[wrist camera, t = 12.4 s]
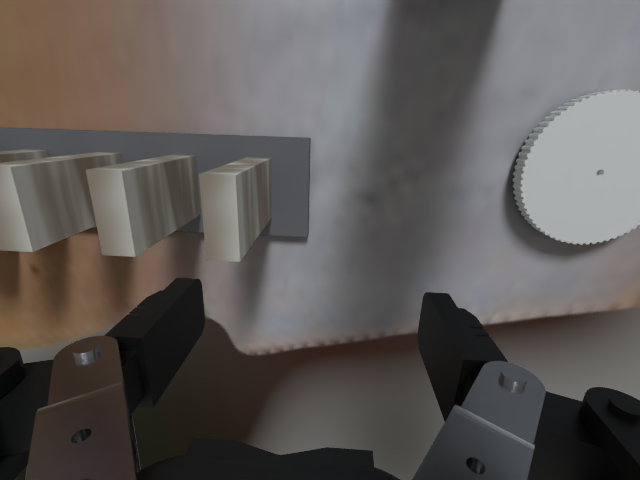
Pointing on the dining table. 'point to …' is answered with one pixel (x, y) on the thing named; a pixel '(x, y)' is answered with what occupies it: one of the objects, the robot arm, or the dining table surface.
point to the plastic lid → (583, 169)
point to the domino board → (210, 153)
